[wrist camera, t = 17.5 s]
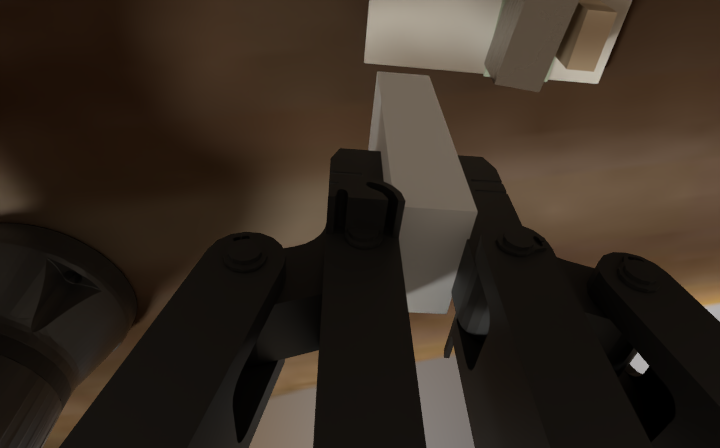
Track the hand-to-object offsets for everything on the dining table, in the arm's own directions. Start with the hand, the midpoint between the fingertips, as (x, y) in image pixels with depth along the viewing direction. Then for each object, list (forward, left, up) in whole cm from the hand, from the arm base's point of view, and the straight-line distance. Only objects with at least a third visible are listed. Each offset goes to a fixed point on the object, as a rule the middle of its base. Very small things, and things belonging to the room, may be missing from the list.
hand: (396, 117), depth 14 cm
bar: (+1, -8, -14) cm, 16 cm away
